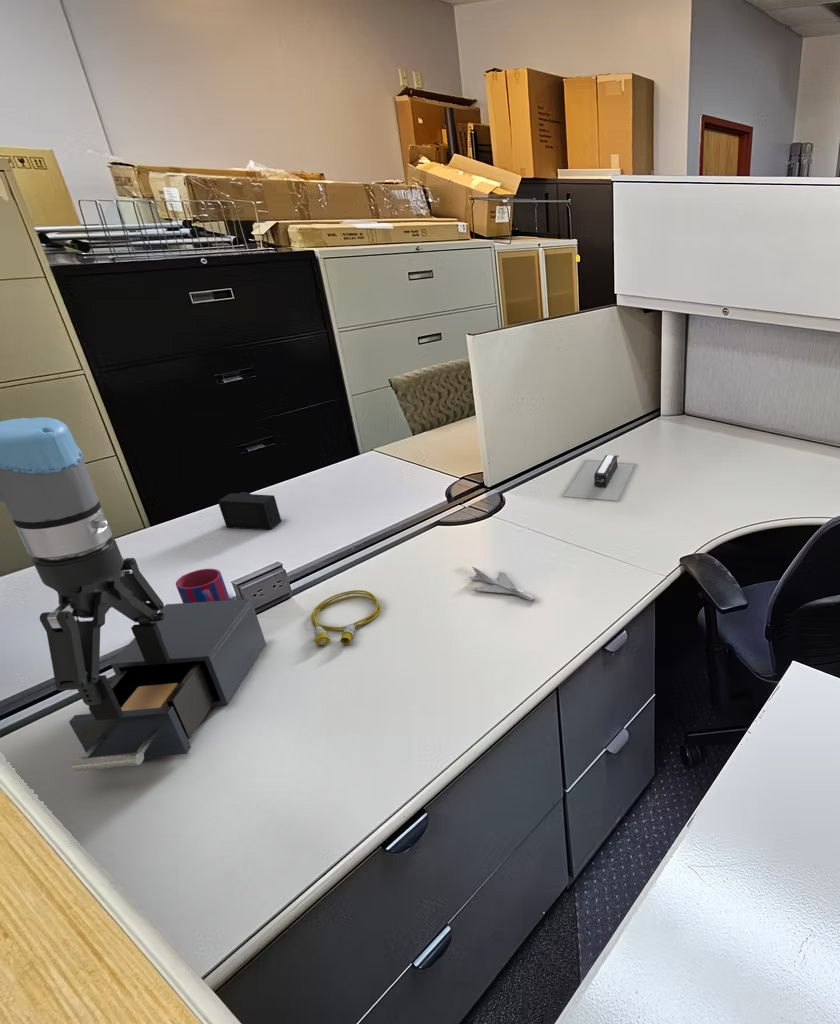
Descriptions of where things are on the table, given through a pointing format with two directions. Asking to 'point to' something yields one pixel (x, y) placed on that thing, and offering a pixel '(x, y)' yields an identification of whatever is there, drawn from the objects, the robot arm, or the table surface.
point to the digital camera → (249, 511)
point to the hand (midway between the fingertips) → (135, 688)
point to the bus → (601, 479)
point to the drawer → (147, 717)
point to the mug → (202, 586)
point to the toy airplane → (499, 585)
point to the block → (150, 697)
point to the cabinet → (207, 641)
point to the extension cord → (348, 630)
